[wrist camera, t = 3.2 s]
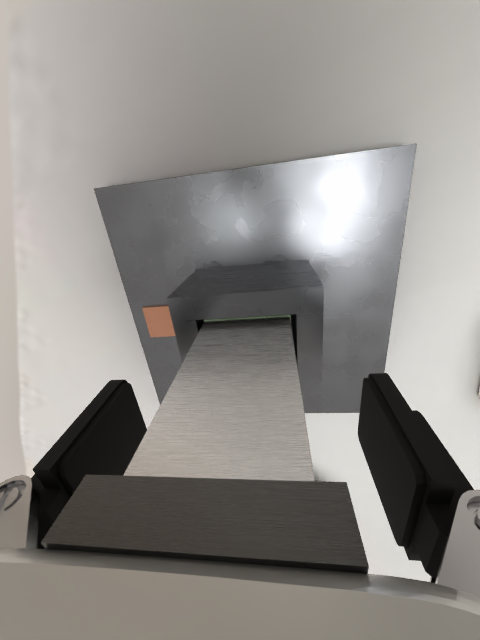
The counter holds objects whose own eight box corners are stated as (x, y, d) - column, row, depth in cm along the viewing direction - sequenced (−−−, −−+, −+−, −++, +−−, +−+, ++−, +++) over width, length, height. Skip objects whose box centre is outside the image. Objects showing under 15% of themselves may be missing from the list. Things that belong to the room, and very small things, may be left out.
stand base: (107, 189, 17) (13, 185, 11) (403, 148, 15) (502, 112, 8) (168, 401, 25) (134, 472, 18) (371, 399, 22) (412, 480, 16)
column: (211, 284, 17) (40, 542, 4) (292, 278, 16) (368, 567, 4) (222, 352, 19) (129, 657, 7) (294, 349, 19) (347, 687, 6)
